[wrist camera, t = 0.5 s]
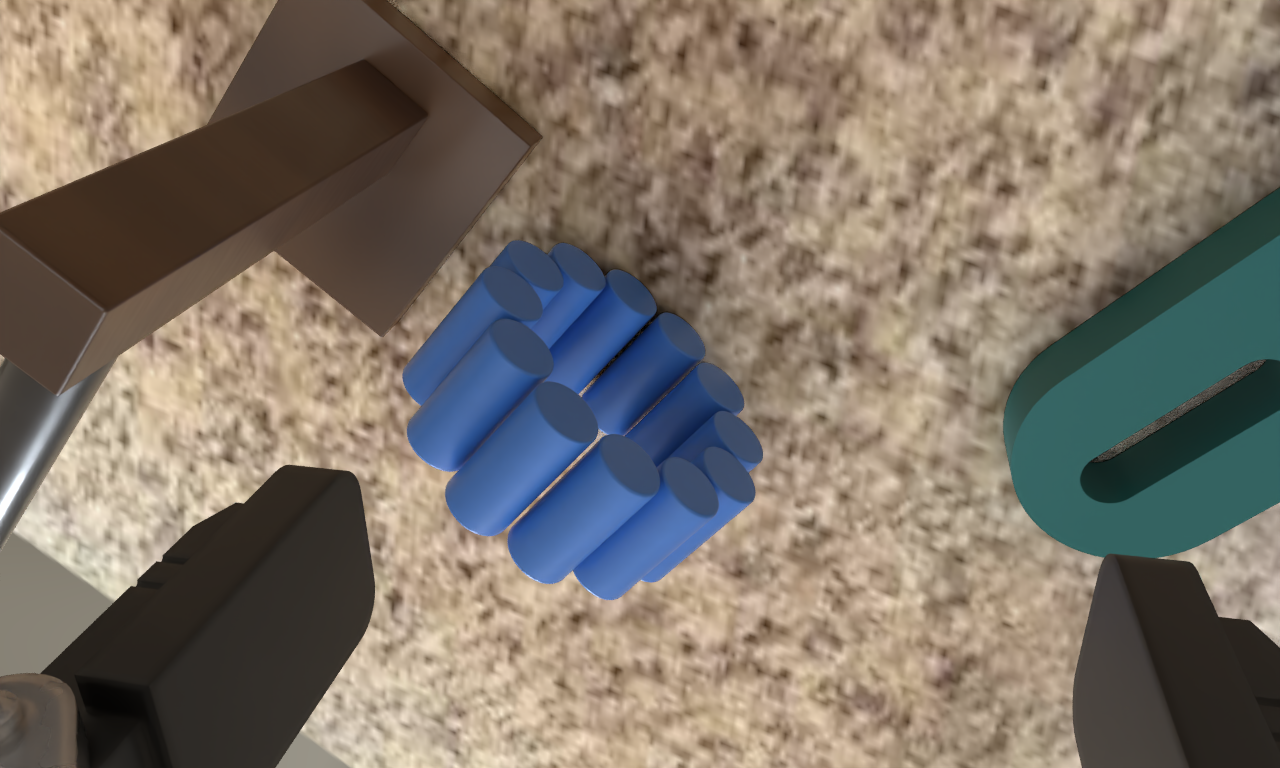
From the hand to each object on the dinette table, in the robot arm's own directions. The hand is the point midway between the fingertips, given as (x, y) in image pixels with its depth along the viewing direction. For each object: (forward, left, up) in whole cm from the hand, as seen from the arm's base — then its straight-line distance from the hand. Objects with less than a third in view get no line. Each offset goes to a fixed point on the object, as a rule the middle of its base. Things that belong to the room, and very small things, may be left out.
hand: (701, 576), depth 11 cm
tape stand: (+5, -15, -20) cm, 26 cm away
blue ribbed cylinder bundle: (+8, -5, -20) cm, 22 cm away
